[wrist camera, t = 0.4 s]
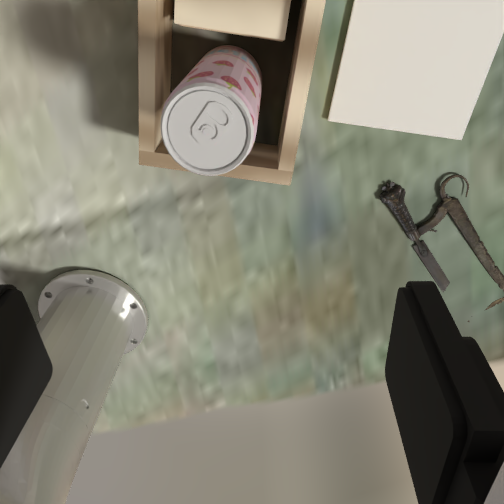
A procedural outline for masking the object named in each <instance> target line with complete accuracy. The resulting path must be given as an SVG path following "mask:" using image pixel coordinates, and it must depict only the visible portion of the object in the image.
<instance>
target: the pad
mask: <svg viewBox="0 0 504 504" xmlns="http://www.w3.org/2000/svg"><path fill="white" fill-rule="evenodd" d="M503 33H504V0H354V2H353V6H352V11H351V16H350V20H349V25H348V29H347V34H346V38H345V43H344V47H343V52H342V56H341V61H340V65H339V70H338V74H337V79H336V83H335V88H334V92H333V97H332V101H331V106H330V111H329V115H328V121H333V122H340V123H347V124H353V125H360V126H367V127H374V128H381V129H388V130H395V131H402V132H409V133H416V134H423V135H430V136H437V137H444V138H451V139H458V140H462V137H463V135H464V132H465V130H466V127H467V124H468V122H469V119H470V117H471V114H472V112H473V109H474V107H475V104H476V102H477V99H478V96H479V94H480V91H481V89H482V86H483V84H484V81H485V79H486V76H487V73H488V71H489V68H490V66H491V63H492V61H493V58H494V56H495V53H496V51H497V48H498V45H499V43H500V40H501V38H502V35H503Z"/></svg>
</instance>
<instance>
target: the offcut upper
mask: <svg viewBox="0 0 504 504" xmlns="http://www.w3.org/2000/svg"><path fill="white" fill-rule="evenodd" d="M290 4H291V0H175V9H174V23H176V24H182V25H189V26H195V27H202V28H208V29H215V30H221V31H227V32H234V33H240V34H247V35H253V36H260V37H266V38H273V39H279V40H285V35H286V29H287V22H288V16H289V10H290Z"/></svg>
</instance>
